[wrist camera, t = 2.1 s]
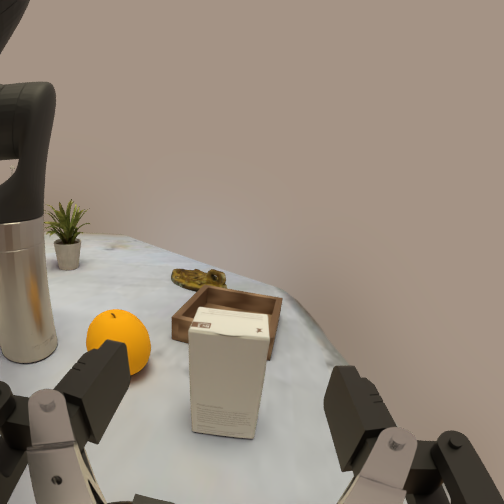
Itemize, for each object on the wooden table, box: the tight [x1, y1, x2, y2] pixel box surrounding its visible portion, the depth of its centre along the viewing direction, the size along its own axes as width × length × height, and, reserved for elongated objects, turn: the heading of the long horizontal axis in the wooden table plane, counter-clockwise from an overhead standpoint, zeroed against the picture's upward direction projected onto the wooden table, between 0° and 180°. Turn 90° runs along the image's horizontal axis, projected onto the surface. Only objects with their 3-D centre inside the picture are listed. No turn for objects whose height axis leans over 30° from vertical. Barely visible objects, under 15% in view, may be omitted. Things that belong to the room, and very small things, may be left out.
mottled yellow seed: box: [171, 269, 227, 292], centre depth 61 cm, size 9×5×15 cm
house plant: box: [44, 199, 90, 270], centre depth 58 cm, size 14×14×16 cm
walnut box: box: [172, 284, 283, 361], centre depth 44 cm, size 14×14×4 cm
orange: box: [86, 309, 151, 375], centre depth 30 cm, size 8×8×8 cm
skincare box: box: [188, 307, 270, 439], centre depth 23 cm, size 6×4×12 cm
